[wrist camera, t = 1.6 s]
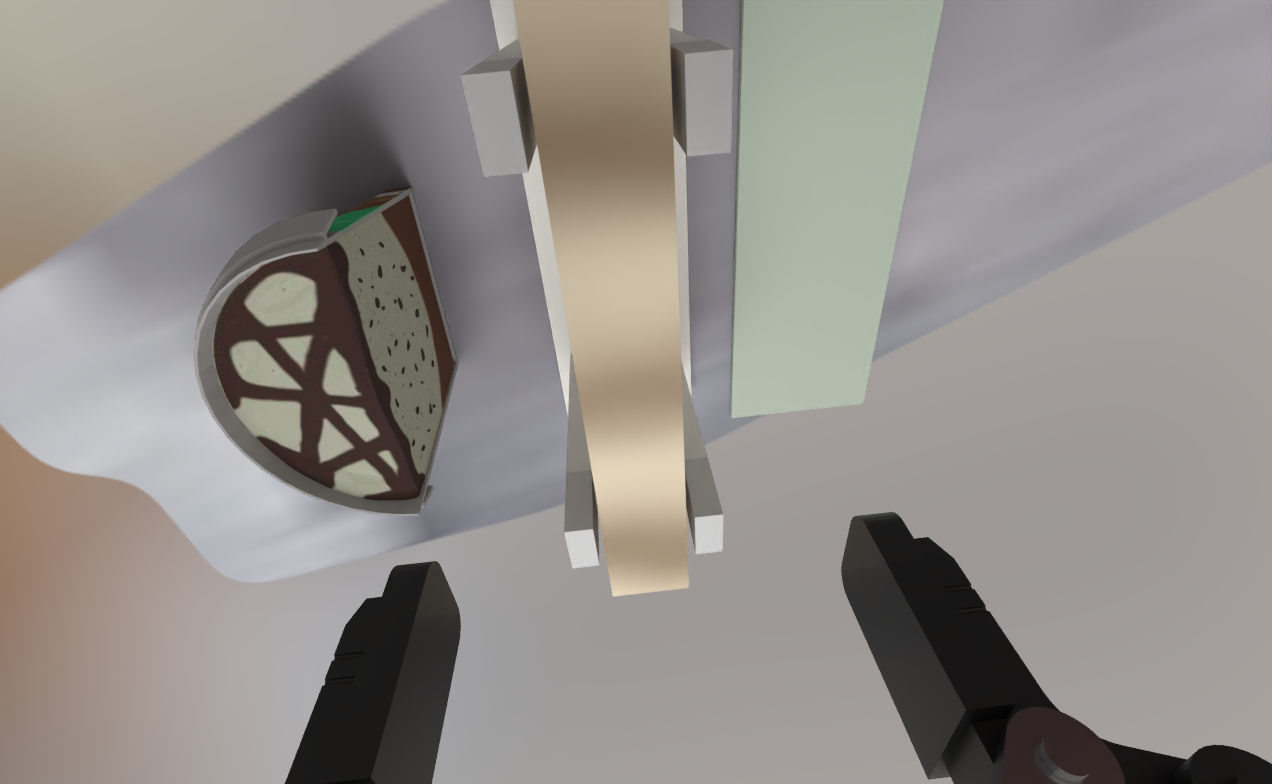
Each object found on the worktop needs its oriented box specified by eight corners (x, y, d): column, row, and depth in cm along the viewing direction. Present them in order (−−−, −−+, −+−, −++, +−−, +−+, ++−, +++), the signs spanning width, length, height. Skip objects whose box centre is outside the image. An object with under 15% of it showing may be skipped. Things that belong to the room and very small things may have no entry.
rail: (518, -46, 13) (503, -56, 10) (650, -58, 13) (665, -72, 10) (609, 536, 24) (612, 596, 22) (678, 528, 24) (688, 587, 22)
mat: (744, -119, 20) (747, -122, 19) (966, -139, 20) (972, -142, 20) (729, 414, 34) (731, 418, 33) (860, 399, 34) (863, 403, 34)
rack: (489, -25, 21) (393, -47, 10) (676, -42, 21) (773, -81, 10) (568, 404, 32) (562, 602, 22) (688, 391, 33) (739, 581, 22)
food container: (255, 159, 24) (85, 244, 16) (402, 151, 24) (310, 230, 16) (352, 394, 31) (269, 537, 23) (464, 386, 31) (422, 524, 23)
